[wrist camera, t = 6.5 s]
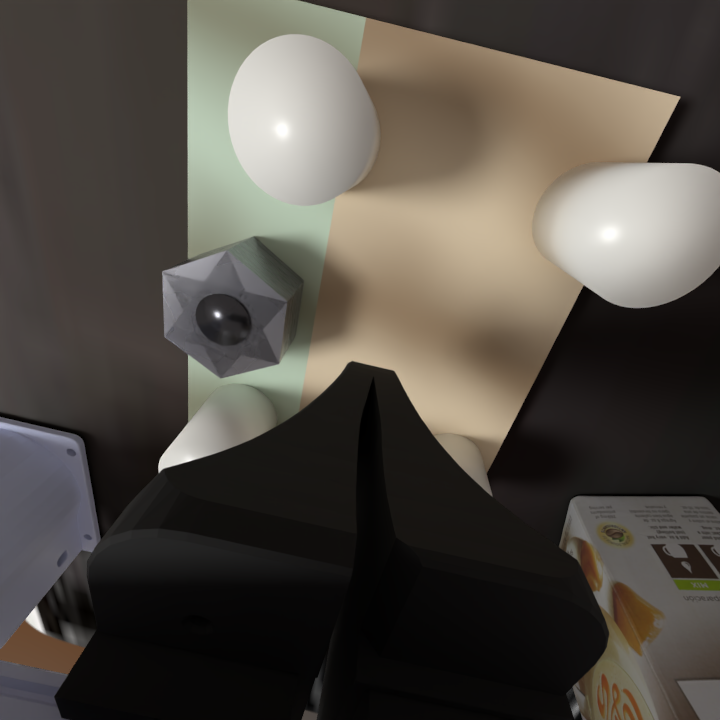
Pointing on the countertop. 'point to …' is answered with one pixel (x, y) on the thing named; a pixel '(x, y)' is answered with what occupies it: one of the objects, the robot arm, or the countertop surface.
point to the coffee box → (650, 605)
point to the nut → (232, 307)
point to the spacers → (549, 226)
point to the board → (412, 211)
